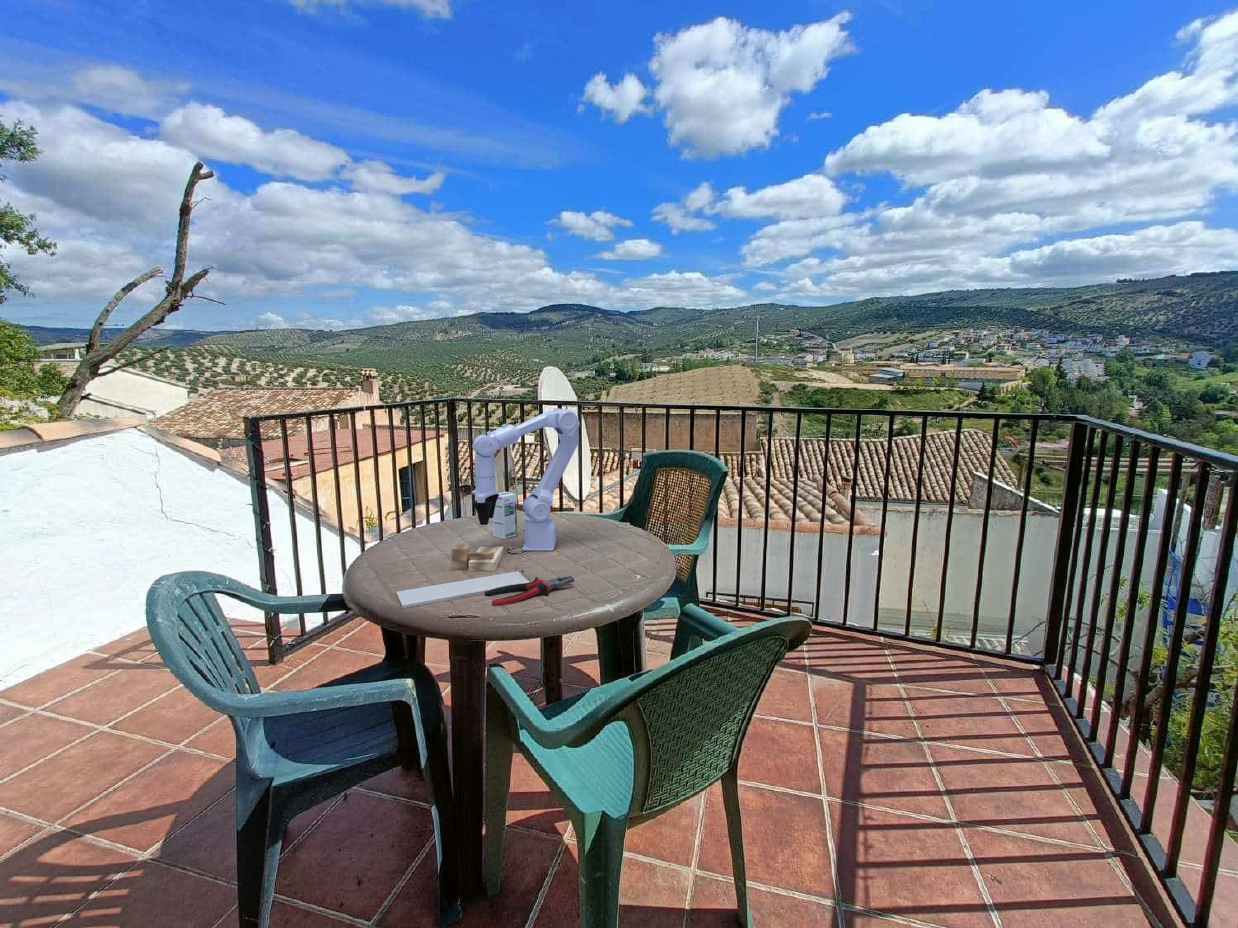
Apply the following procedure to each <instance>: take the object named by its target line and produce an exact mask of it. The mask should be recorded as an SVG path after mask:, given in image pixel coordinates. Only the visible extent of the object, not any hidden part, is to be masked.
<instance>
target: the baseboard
mask: <svg viewBox="0 0 1238 928" xmlns="http://www.w3.org/2000/svg"><path fill="white" fill-rule="evenodd" d="M515 569H518V566H516V567H515ZM520 572H521V573H520ZM522 574H524V575H522ZM525 577H526V578H525ZM528 579H529V580H528ZM530 581H531V579H530V577H528V576H527V575H526V574H525V571H524V570H522V569H520V571H519V570H518V571H517V570H516V571H512V572H506V573H500V574H494V575H493V574H492V575H488V576H482V577H476V578H470V579H465V580H458V581H452V582H446V583H441V584H440V583H439V584H435V585H429V586H423V587H418V588H411V589H405V590H400V591H395V595H396V594H397V595H396V597H397V596H398V597H397V600H398V599H399V600H398V602H399V601H400V602H399V603H401V604H400V606H401V605H402V606H401V609H402V608H404V609H408V608H407V607H410V606H415V607H417V606H416V605H421V606H424V605H423V604H426V605H428V604H427V603H432V604H435V603H434V602H437V603H441V602H440V601H443V602H449V601H452V600H453V601H454V600H459V599H464V598H463V597H465V598H469V597H468V596H470V597H475V596H480V595H485V594H484V593H485V592H486V591H488V590H491V589H494V588H498V587H503V586H508V585H514V584H522V583H529V582H530ZM410 608H411V607H410Z"/></svg>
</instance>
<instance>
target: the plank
mask: <svg viewBox="0 0 1238 928" xmlns="http://www.w3.org/2000/svg"><path fill="white" fill-rule="evenodd" d="M475 552H494V557H493V558H491V559H489V558H470V561H469V568H468V572H494V571H496V569H497V567H498V566H499V564H500V562H501V561H502V558H503V557H504V552H505V550H504V546H479V547H478V549H476V551H475Z"/></svg>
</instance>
